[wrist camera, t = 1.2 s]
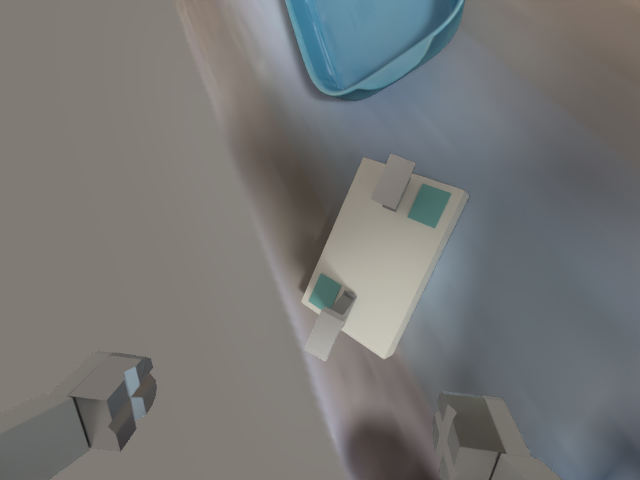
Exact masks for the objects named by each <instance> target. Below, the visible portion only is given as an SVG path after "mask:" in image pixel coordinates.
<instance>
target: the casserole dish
mask: <svg viewBox="0 0 640 480" xmlns="http://www.w3.org/2000/svg"><path fill="white" fill-rule="evenodd" d="M464 2H465V0H285V4H286V7H287V10H288V14H289V17H290V20H291V23H292V27H293V30H294V33H295V36H296V39H297V43H298V46H299V49H300V52H301V55H302V58H303V61H304V64H305V67H306V69H307V72H308V74H309V76H310V78H311V80H312V82H313V83H314V85H315V86H316V87H317V88H318V89H319V90H320V91H321V92H322V93H324V94H326V95H328V96H332V97H337V98H341V99H345V100H351V101H356V100H362V99H365V98H368V97H370V96H372V95H374V94H376V93H377V92H379V91H381V90H383V89H384V88H386V87H388V86H389V85H391V84H393V83H395V82H396V81H398V80H400V79H401V78H403V77H404V76H406V75H407V74H409V73H410V72H412V71H413V70H415V69H417V68H418V67H420V66H421V65H423V64H424V63H426V62H427V61H428V60H430V59H431V58H432V57H434V56H435V55H436V54H437V53H439V52H440V51H441V50H442V49H443V48H444V47H445V46H446V45H447V44H448V43H449V41H450V40H451V39H452V37H453V36H454V34H455V32H456V31H457V28H458V26H459V23H460V21H461V17H462V13H463V8H464Z"/></svg>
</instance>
